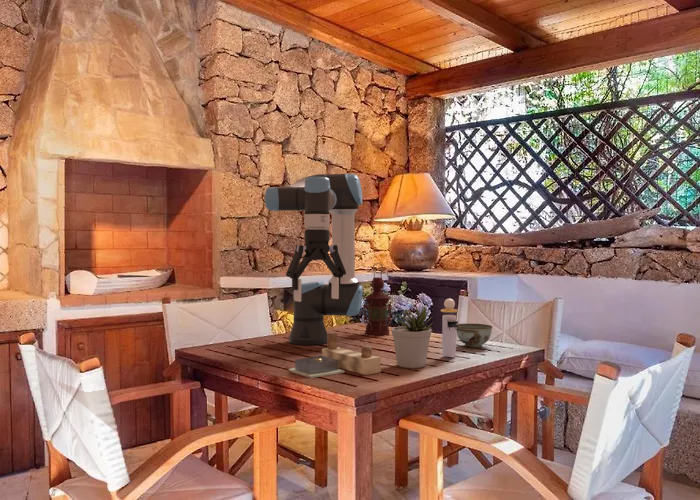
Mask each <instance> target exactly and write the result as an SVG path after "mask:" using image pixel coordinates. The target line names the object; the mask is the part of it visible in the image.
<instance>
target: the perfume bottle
mask: <svg viewBox="0 0 700 500" xmlns="http://www.w3.org/2000/svg"><path fill="white" fill-rule="evenodd" d="M443 305H444V308H441V309H440V312H441V313H458V312H459V309H455V305H456V302H455V300H454V299H452V298H450V297H449V298H446V299H445V300H444V303H443ZM458 324H459V320H457V315H454V314H443V315H442V324H441V325H442V328H441V329H442V333H441V335H442V337H441V339H442V343H441V347H442V348H441V350H442V353H441V354H442V356H444V357H456V356H457V355H456V354H457V331H456V327H457V329H458Z"/></svg>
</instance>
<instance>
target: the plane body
mask: <svg viewBox="0 0 700 500" xmlns="http://www.w3.org/2000/svg"><path fill="white" fill-rule="evenodd" d="M327 335H328V339H327V343H326V345H327V347H325V348H322V349H321V356H325V357H329V358H332V359H336V360H338V369H341V370H347V371H349V372H353V373H357V374H359V375H360V374H361V375H364V376H366V375H367V376H368V375H372V374H379V373H381V372H382V371H381V366H382V365H381V356H377V355H372V350H373V349H372V346H369V345H363V346H361V352H359V351H355V350H351V349H347V348H342V347H340V346H338V333H337V332H327Z"/></svg>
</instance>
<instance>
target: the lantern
mask: <svg viewBox="0 0 700 500" xmlns="http://www.w3.org/2000/svg"><path fill="white" fill-rule="evenodd" d="M377 265H380V266H381V269H380V276H377V277H375V275H376V274H375V269H374V268H375V266H377ZM372 270H373V278H372V280H371V282H370V285H371V287H372V290H371V293H370V294H368V295H365V296H364V299H366V301H365V302H363V307H362V308H363V323H364V326H365V332H364V335H366V334H367V335H366V336H369V335H374V336H373V337H382V336H383V335H386V336H390V330H389V329H390V327H389V326H390V324H391V323H392V307H393V306H392V302H391V301H389V300H390V299H391V296H388V295H387V294H386V293H384V292H383V291H384V285H385V282H384V279H383V277H382V272H383V263H380V262H379V263H374V264H373V266H372ZM366 309H367V310H368V311H367V310H366ZM387 312H388V314H387ZM387 322H388V323H387ZM383 337H384V336H383Z"/></svg>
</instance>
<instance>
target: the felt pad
mask: <svg viewBox="0 0 700 500" xmlns="http://www.w3.org/2000/svg"><path fill="white" fill-rule="evenodd" d="M288 372H291V373H294V374H297V375H301V376H304V377H307V378H310V379H314V378H320V377H325V376H331V375H337V374H345V369H341V368H338V370H334V371H328V372H321V373H315V374H308V373H304V372H301V371H298V370H295V367H293V368H288Z"/></svg>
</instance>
